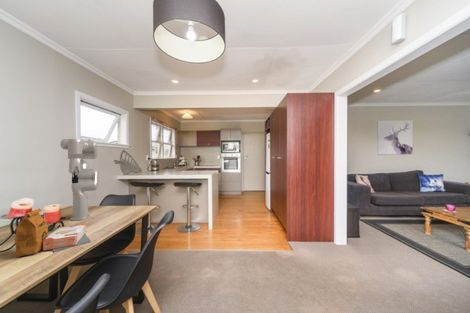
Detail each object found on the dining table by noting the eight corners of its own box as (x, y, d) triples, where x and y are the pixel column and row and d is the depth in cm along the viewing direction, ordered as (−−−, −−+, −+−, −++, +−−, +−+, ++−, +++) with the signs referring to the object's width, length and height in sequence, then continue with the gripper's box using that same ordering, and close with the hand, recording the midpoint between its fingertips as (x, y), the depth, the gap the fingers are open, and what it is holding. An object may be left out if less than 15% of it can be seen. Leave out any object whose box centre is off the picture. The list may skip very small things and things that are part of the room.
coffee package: (52, 244, 105) (52, 207, 105) (36, 255, 93) (36, 213, 93) (29, 247, 102) (29, 208, 102) (10, 259, 90) (11, 215, 90)
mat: (49, 242, 108) (49, 241, 108) (84, 233, 120) (84, 232, 120) (53, 252, 96) (53, 251, 96) (90, 241, 109) (90, 240, 109)
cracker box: (86, 222, 122) (75, 235, 103) (86, 231, 122) (75, 245, 103) (58, 226, 116) (42, 240, 97) (59, 235, 116) (42, 251, 97)
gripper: (66, 156, 127) (66, 182, 127) (69, 156, 117) (69, 184, 117) (80, 156, 133) (79, 181, 133) (84, 156, 123) (84, 183, 123)
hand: (75, 182), depth 125 cm, fingers closed
